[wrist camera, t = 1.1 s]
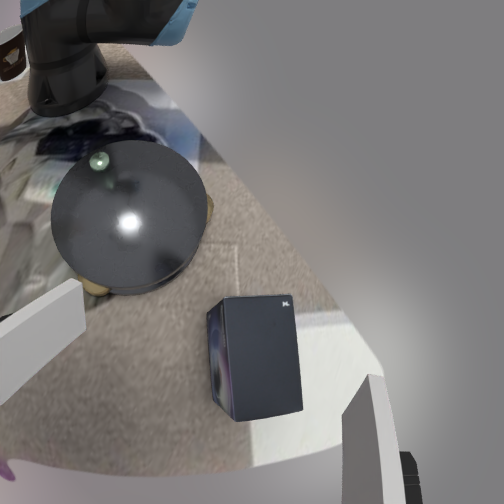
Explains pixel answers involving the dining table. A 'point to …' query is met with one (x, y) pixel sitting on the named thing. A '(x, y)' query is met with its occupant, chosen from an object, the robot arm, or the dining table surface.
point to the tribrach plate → (129, 217)
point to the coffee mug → (12, 52)
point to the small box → (254, 356)
